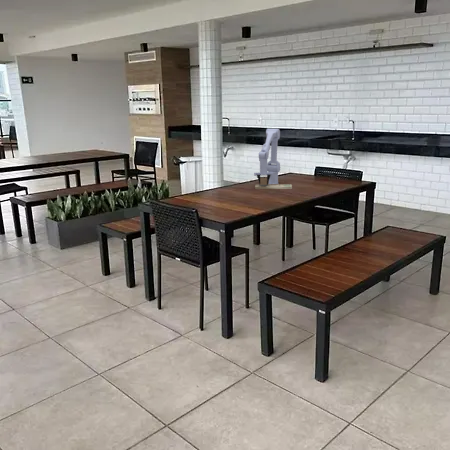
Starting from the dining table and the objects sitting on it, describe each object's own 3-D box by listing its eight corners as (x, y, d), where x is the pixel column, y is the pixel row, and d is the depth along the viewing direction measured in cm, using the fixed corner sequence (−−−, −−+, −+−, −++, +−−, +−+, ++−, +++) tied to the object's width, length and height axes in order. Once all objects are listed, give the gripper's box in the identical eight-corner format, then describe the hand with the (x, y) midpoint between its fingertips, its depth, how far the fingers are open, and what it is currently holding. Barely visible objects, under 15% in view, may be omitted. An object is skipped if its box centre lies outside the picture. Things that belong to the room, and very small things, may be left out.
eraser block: (260, 184, 372) (260, 176, 370) (267, 184, 371) (266, 176, 370) (260, 186, 365) (260, 178, 363) (266, 185, 364) (266, 178, 363)
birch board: (255, 186, 374) (255, 184, 374) (291, 186, 371) (291, 184, 371) (255, 189, 364) (255, 187, 364) (291, 188, 362) (292, 186, 361)
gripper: (253, 168, 361) (254, 185, 365) (273, 167, 360) (273, 185, 363) (254, 166, 368) (254, 184, 372) (273, 166, 367) (273, 183, 370)
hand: (263, 184), depth 368 cm, fingers closed on eraser block, 5 cm apart
